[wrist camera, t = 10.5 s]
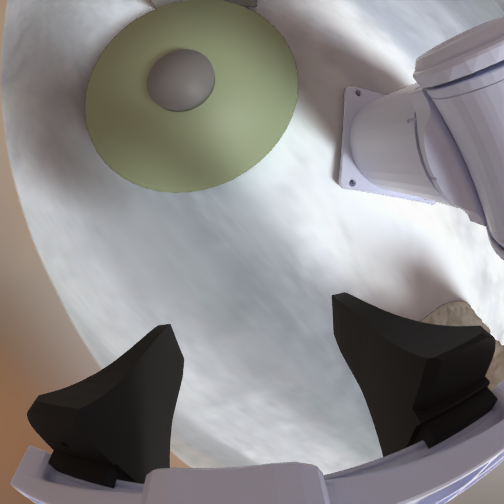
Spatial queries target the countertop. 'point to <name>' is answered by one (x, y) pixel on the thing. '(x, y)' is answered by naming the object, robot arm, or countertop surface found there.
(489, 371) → the ceramic cottage
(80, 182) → the countertop surface
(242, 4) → the green disc with bracket
